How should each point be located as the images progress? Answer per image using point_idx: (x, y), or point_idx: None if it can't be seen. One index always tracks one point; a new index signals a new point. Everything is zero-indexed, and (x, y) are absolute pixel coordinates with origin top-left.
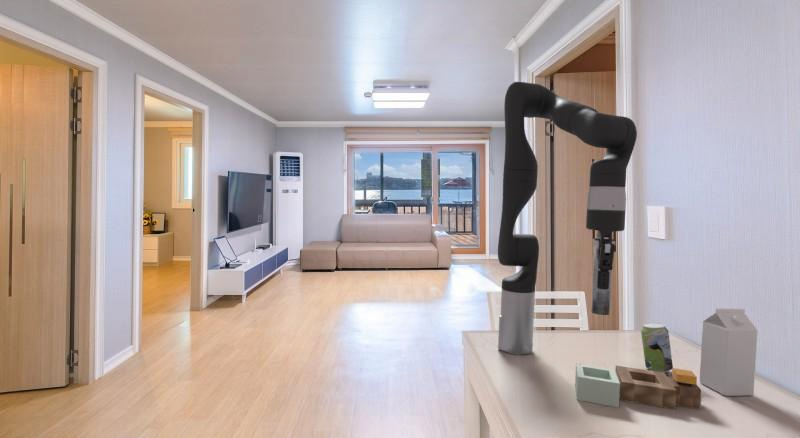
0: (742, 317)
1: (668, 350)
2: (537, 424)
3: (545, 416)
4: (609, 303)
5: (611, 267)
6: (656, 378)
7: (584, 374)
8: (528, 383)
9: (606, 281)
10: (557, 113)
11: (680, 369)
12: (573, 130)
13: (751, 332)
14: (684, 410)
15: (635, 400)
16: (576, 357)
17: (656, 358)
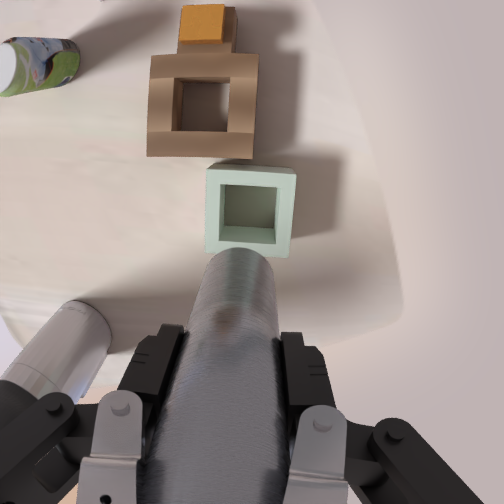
0: None
1: (50, 41)
2: (386, 302)
3: (362, 292)
4: (258, 273)
5: (414, 435)
6: (192, 77)
7: (220, 230)
8: None
9: (326, 373)
10: None
11: (182, 25)
12: None
13: None
14: (255, 47)
15: (254, 130)
16: (59, 218)
17: (64, 65)
